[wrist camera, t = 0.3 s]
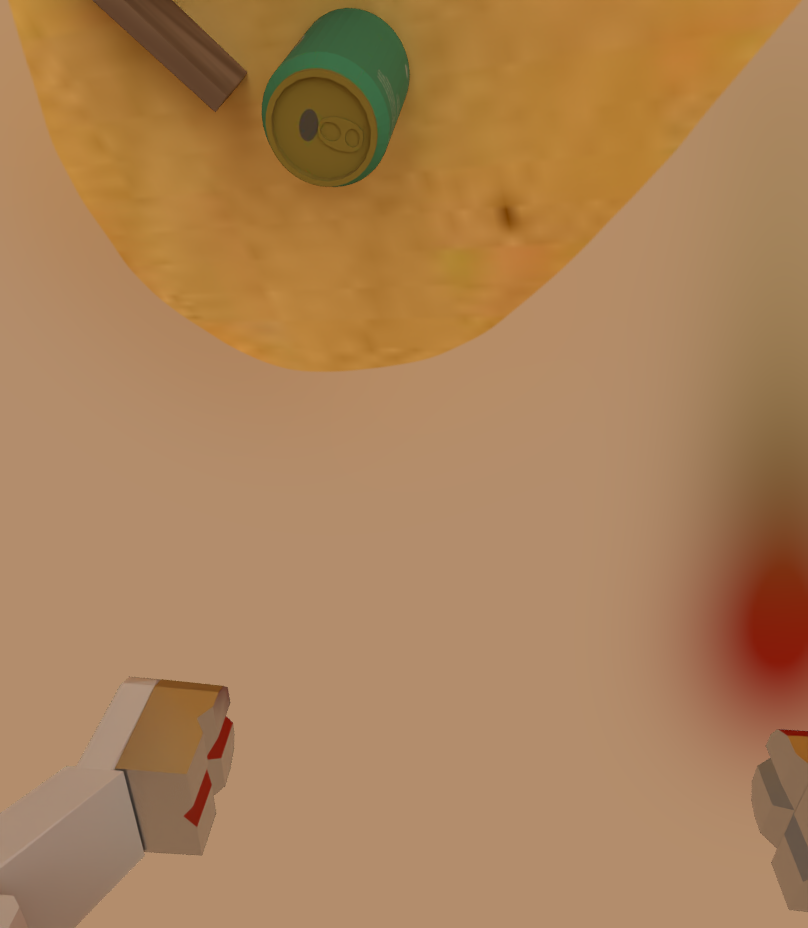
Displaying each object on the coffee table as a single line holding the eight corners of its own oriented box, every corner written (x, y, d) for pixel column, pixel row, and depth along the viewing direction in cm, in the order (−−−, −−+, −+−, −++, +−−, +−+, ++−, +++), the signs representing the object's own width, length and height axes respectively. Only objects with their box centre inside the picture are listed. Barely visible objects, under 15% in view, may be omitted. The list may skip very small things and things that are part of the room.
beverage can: (309, -12, 49) (262, 40, 41) (423, 24, 50) (400, 82, 42) (294, 108, 55) (250, 175, 47) (397, 139, 56) (371, 210, 47)
